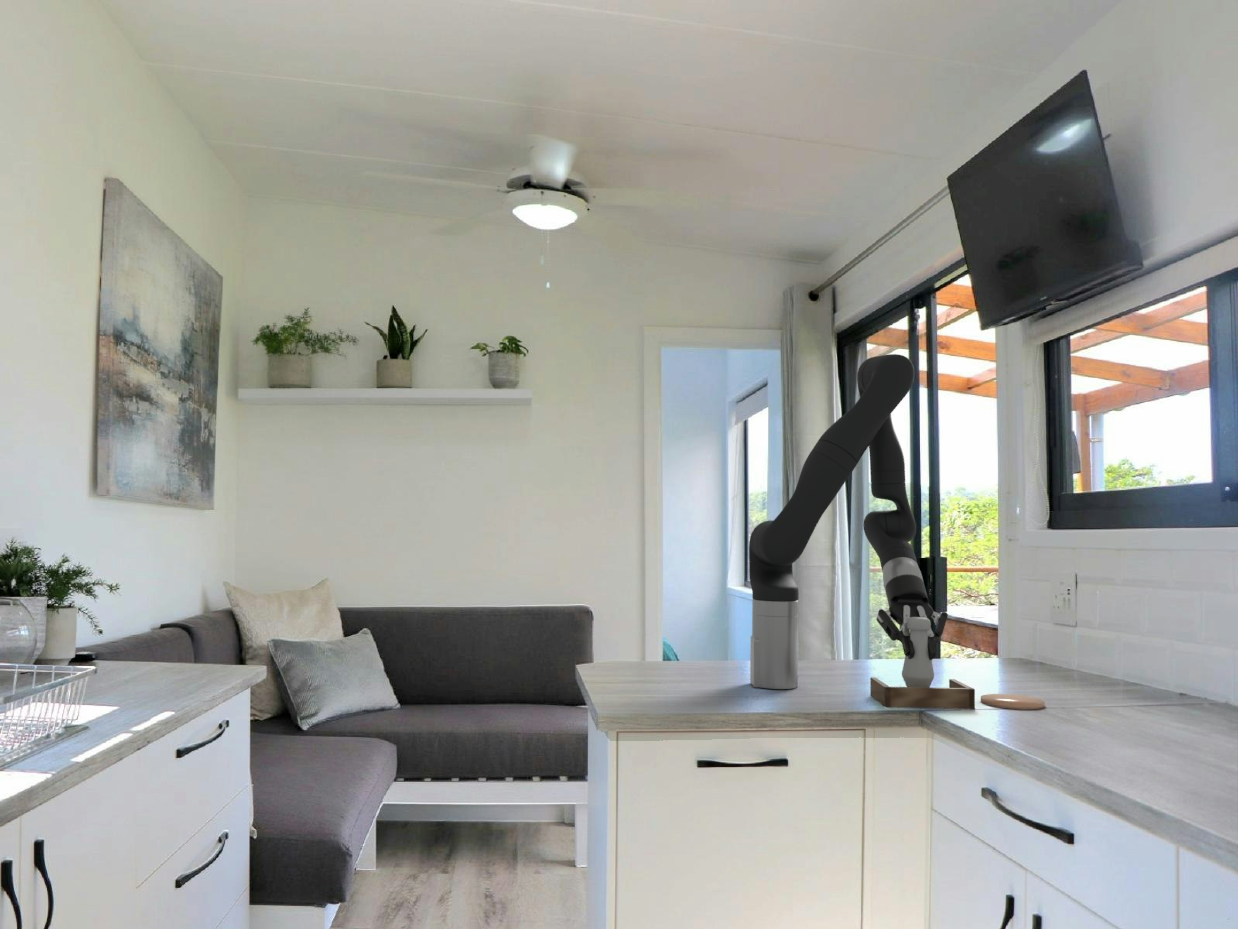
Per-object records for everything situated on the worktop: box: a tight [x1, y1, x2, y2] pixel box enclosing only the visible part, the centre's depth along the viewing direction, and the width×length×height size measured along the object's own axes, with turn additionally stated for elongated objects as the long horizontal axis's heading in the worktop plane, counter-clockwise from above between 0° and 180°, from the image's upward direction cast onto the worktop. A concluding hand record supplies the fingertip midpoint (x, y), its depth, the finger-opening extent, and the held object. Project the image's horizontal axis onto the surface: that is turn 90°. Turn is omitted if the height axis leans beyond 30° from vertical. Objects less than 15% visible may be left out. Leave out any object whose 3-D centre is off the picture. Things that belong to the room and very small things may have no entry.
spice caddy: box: [869, 677, 976, 710], centre depth 177 cm, size 16×11×4 cm
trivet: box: [980, 693, 1046, 711], centre depth 177 cm, size 11×11×1 cm
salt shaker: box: [901, 617, 935, 687], centre depth 178 cm, size 6×6×13 cm
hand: (921, 656), depth 176 cm, fingers closed on salt shaker, 3 cm apart
